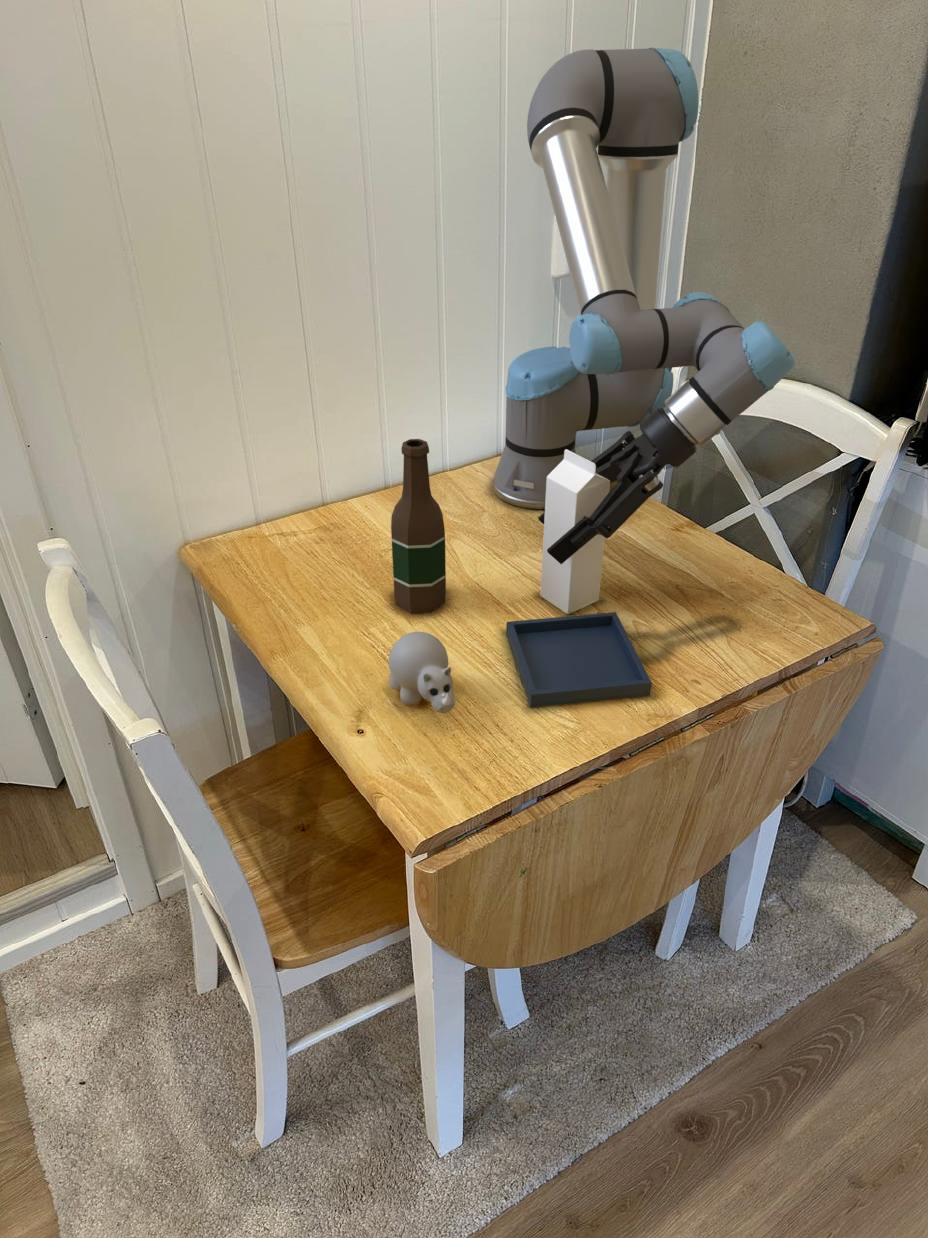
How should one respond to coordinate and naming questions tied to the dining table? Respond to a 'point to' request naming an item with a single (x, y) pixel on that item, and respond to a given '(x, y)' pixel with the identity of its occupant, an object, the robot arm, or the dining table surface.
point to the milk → (565, 505)
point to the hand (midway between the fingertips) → (549, 540)
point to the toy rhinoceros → (421, 671)
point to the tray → (576, 660)
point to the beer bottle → (418, 537)
